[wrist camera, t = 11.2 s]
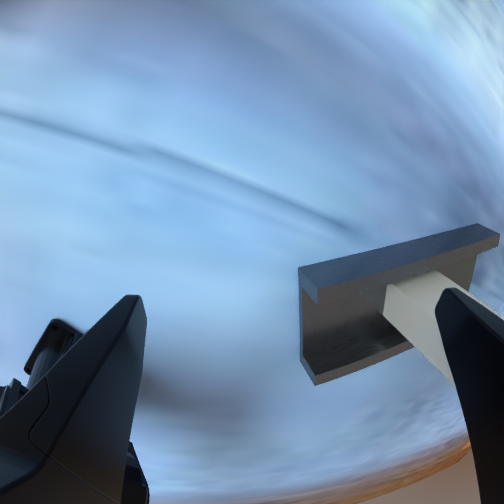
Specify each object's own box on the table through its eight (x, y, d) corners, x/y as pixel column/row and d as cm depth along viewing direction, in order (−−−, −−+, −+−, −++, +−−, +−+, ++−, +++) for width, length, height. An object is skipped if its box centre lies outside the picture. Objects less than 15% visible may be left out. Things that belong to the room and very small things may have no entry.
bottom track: (300, 361, 26) (314, 385, 23) (298, 267, 22) (317, 289, 19) (462, 299, 30) (480, 312, 27) (477, 223, 26) (500, 234, 23)
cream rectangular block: (382, 315, 26) (474, 408, 15) (387, 280, 24) (494, 370, 13) (424, 299, 26) (514, 376, 16) (430, 266, 25) (532, 339, 14)
